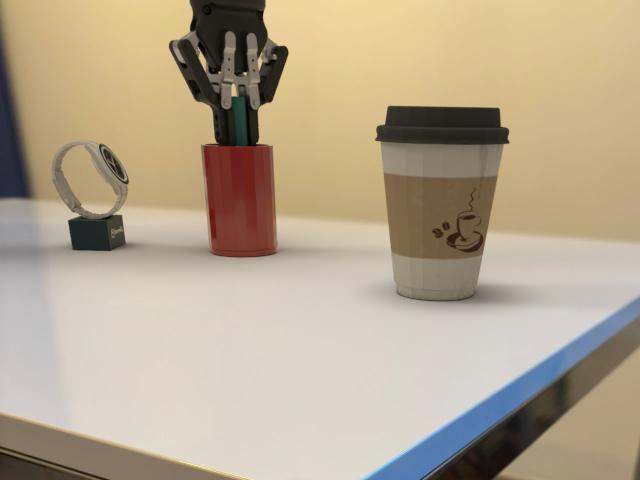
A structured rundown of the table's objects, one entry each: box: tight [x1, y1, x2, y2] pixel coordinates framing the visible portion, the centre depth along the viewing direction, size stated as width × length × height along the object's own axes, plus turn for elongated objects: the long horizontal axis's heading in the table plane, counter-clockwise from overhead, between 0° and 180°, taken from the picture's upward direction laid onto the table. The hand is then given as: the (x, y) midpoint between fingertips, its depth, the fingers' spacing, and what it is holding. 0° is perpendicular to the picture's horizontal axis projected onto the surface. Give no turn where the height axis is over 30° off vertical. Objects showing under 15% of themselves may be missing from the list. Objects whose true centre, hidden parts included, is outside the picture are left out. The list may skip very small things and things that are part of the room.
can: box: [200, 142, 278, 258], centre depth 86 cm, size 8×8×11 cm
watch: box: [51, 140, 130, 251], centre depth 88 cm, size 6×8×11 cm
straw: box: [230, 95, 248, 146], centre depth 85 cm, size 2×2×15 cm
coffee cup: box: [374, 105, 511, 301], centre depth 68 cm, size 11×11×15 cm
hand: (237, 148), depth 84 cm, fingers closed on straw, 2 cm apart
